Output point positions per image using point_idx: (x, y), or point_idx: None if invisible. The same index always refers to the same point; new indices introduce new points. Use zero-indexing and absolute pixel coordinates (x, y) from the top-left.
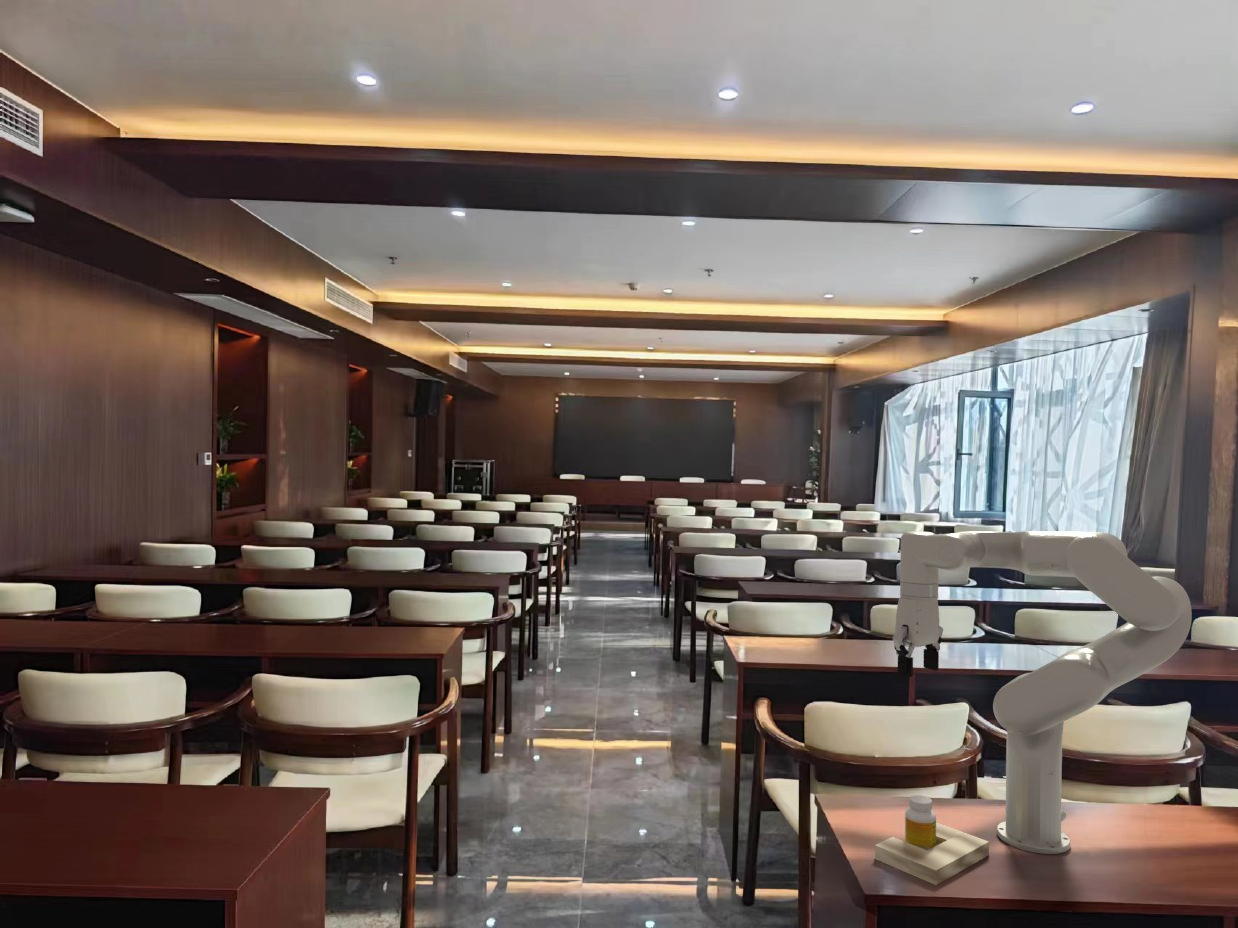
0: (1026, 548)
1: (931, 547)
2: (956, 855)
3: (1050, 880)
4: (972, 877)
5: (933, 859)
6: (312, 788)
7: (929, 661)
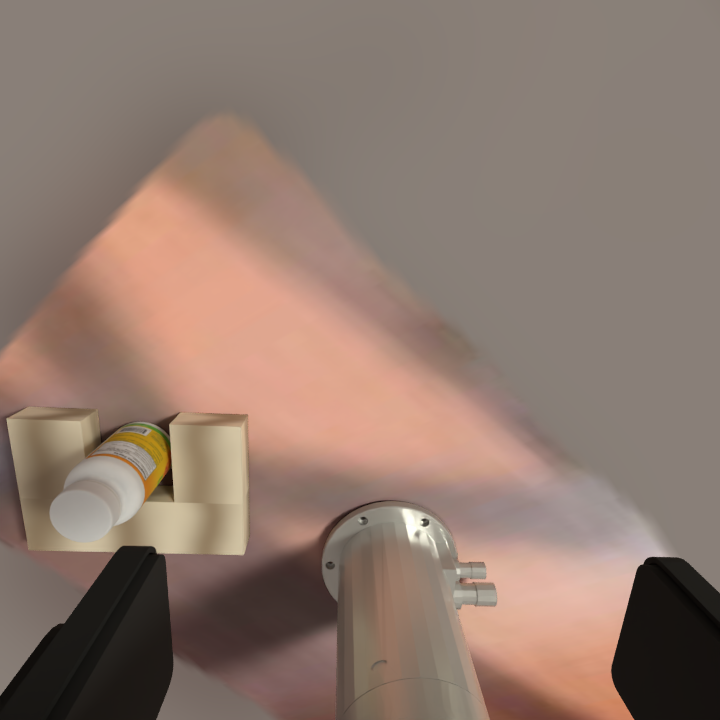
0: None
1: None
2: (124, 544)
3: (245, 633)
4: None
5: None
6: None
7: (682, 690)
